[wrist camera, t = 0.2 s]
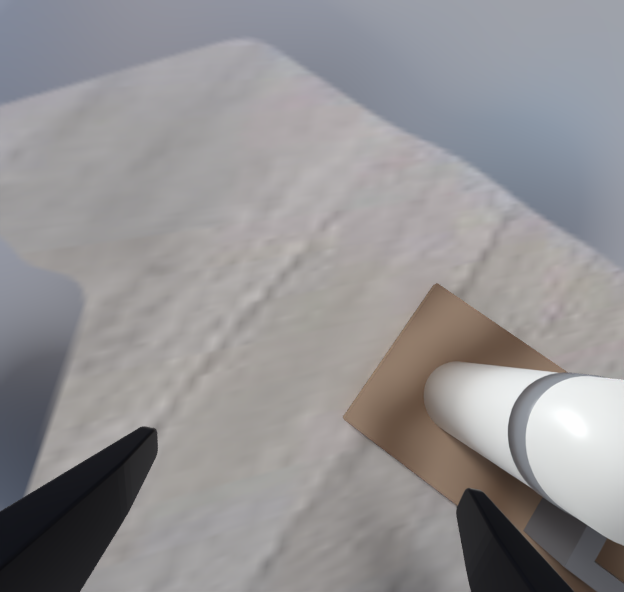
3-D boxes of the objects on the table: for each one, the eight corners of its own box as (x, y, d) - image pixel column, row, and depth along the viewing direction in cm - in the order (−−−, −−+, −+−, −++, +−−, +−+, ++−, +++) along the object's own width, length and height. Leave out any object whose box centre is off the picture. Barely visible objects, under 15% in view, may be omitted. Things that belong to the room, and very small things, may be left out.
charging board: (725, 485, 22) (740, 490, 21) (644, 646, 21) (657, 658, 20) (433, 285, 24) (437, 283, 24) (342, 416, 23) (343, 419, 22)
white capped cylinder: (508, 420, 22) (752, 515, 10) (440, 446, 22) (602, 578, 10) (477, 350, 23) (668, 356, 10) (411, 375, 23) (527, 411, 10)
